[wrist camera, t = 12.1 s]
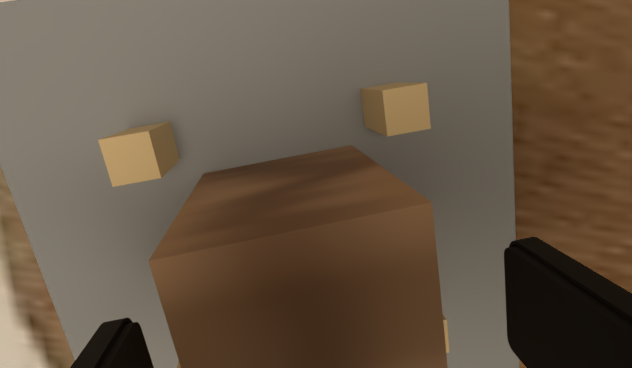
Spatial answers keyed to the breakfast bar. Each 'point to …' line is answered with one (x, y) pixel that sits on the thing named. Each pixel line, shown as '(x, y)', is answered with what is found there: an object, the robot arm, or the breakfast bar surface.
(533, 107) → the breakfast bar surface
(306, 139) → the base board
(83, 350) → the robot arm
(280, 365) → the walnut block
